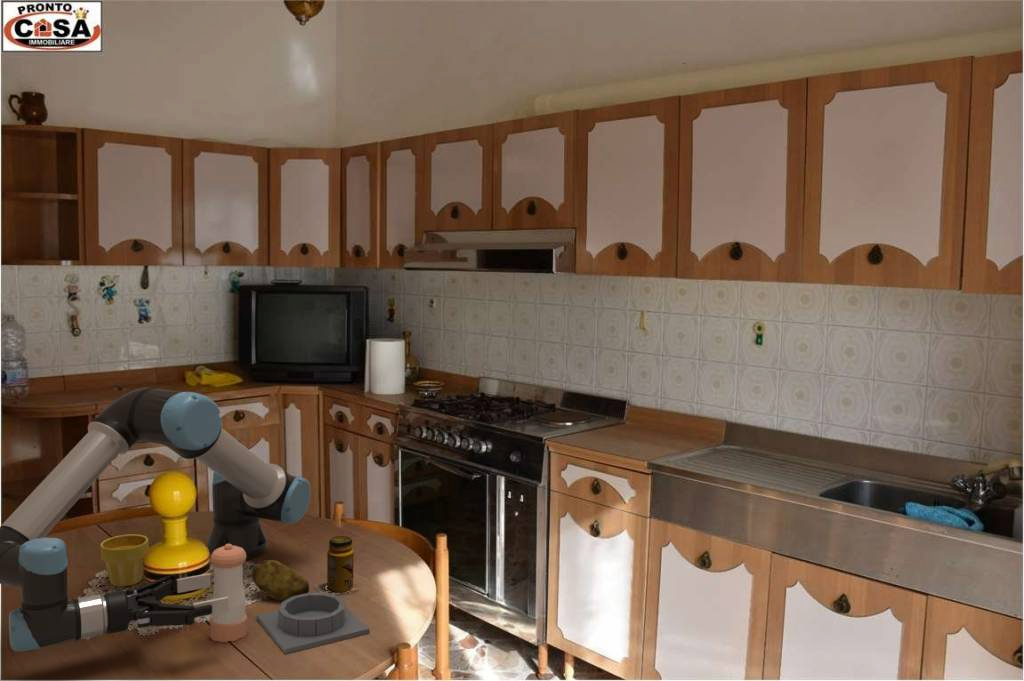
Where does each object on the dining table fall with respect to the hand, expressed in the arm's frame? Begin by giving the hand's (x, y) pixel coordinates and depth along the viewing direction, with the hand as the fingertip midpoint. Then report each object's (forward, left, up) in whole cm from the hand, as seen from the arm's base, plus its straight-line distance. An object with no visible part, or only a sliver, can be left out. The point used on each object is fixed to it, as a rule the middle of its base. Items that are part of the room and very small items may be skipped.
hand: (218, 591), depth 173 cm
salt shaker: (0, +2, -10) cm, 10 cm away
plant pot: (-39, -11, -10) cm, 42 cm away
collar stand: (+5, +18, -10) cm, 21 cm away
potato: (-13, +17, -10) cm, 24 cm away
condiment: (-11, +30, -10) cm, 34 cm away
